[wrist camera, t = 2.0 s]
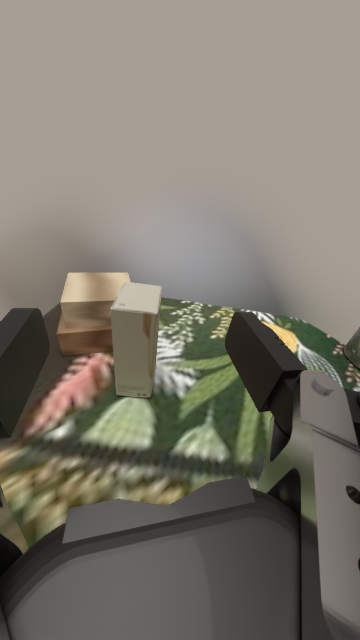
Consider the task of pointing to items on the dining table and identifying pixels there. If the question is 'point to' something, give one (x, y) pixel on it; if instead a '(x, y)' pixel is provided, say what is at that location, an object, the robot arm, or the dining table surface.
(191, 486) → the dining table surface
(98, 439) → the dining table surface
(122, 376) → the skincare box
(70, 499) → the dining table surface
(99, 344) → the stepped wooden pedestal
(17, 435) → the dining table surface
